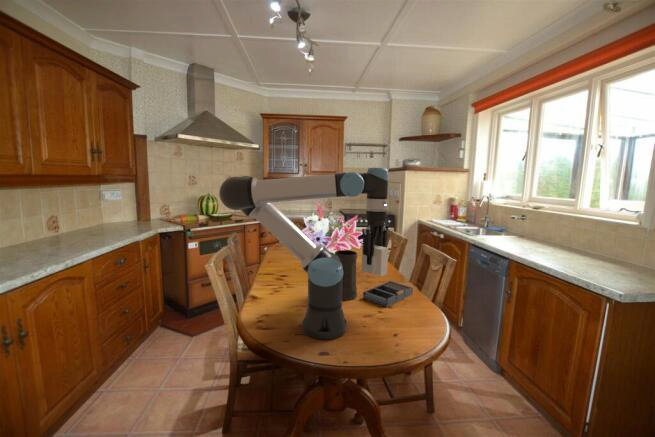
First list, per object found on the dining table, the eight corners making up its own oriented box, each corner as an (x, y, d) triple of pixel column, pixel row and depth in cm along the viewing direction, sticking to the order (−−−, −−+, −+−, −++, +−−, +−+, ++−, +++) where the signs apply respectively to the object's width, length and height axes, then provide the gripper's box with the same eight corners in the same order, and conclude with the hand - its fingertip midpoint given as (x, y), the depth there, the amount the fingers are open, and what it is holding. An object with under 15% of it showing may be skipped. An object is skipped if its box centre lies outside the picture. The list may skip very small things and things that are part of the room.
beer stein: (355, 302, 127) (357, 254, 125) (330, 299, 129) (331, 253, 127) (358, 291, 142) (360, 248, 140) (336, 288, 144) (337, 247, 142)
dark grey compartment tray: (386, 307, 122) (387, 298, 122) (363, 298, 131) (363, 290, 130) (412, 294, 137) (413, 286, 136) (389, 286, 145) (390, 279, 144)
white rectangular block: (380, 276, 110) (381, 249, 109) (361, 270, 117) (362, 245, 115) (387, 274, 113) (388, 247, 112) (367, 268, 119) (368, 243, 118)
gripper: (370, 212, 103) (368, 279, 106) (397, 209, 115) (395, 269, 118) (353, 210, 108) (351, 273, 111) (381, 207, 120) (379, 264, 123)
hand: (374, 271), depth 115 cm, fingers closed on white rectangular block, 4 cm apart
